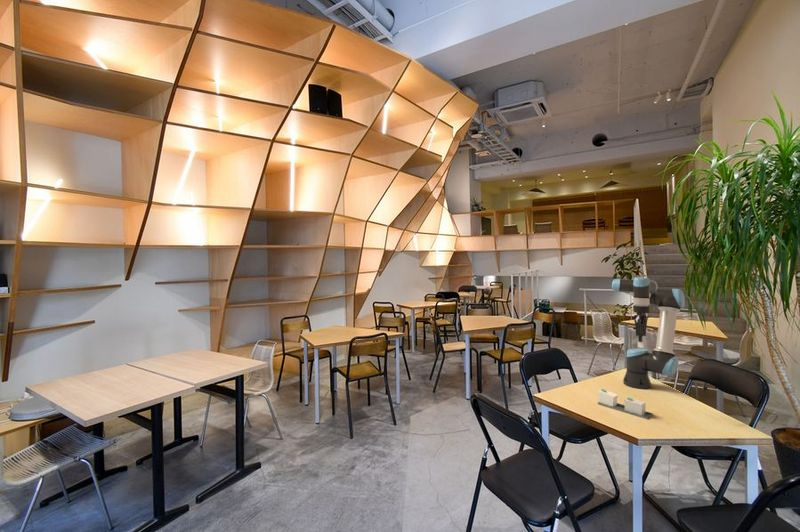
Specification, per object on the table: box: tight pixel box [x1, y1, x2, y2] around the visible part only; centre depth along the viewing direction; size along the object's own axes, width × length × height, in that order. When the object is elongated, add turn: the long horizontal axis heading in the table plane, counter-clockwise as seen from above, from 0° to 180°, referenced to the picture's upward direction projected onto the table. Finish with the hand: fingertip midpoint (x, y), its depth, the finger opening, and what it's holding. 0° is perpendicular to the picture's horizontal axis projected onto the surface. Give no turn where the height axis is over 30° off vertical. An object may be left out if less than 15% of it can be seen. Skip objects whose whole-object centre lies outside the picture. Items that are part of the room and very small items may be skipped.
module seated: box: [624, 396, 646, 416], centre depth 194 cm, size 5×8×7 cm, turn 37°
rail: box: [597, 401, 654, 420], centre depth 198 cm, size 8×25×2 cm, turn 37°
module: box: [597, 388, 619, 407], centre depth 204 cm, size 5×8×7 cm, turn 37°
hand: (640, 347), depth 205 cm, fingers closed
